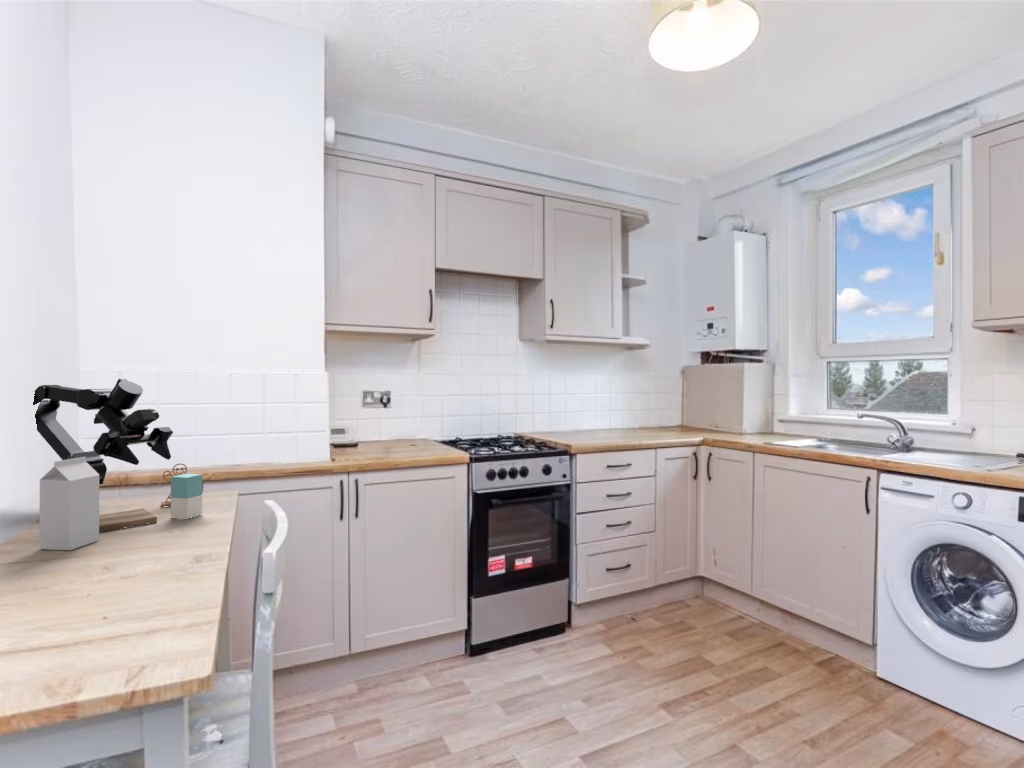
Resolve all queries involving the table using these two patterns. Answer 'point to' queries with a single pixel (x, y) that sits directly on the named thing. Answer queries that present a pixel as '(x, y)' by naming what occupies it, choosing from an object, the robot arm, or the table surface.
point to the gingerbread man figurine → (168, 503)
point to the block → (186, 495)
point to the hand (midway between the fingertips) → (154, 460)
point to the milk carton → (69, 505)
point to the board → (125, 519)
